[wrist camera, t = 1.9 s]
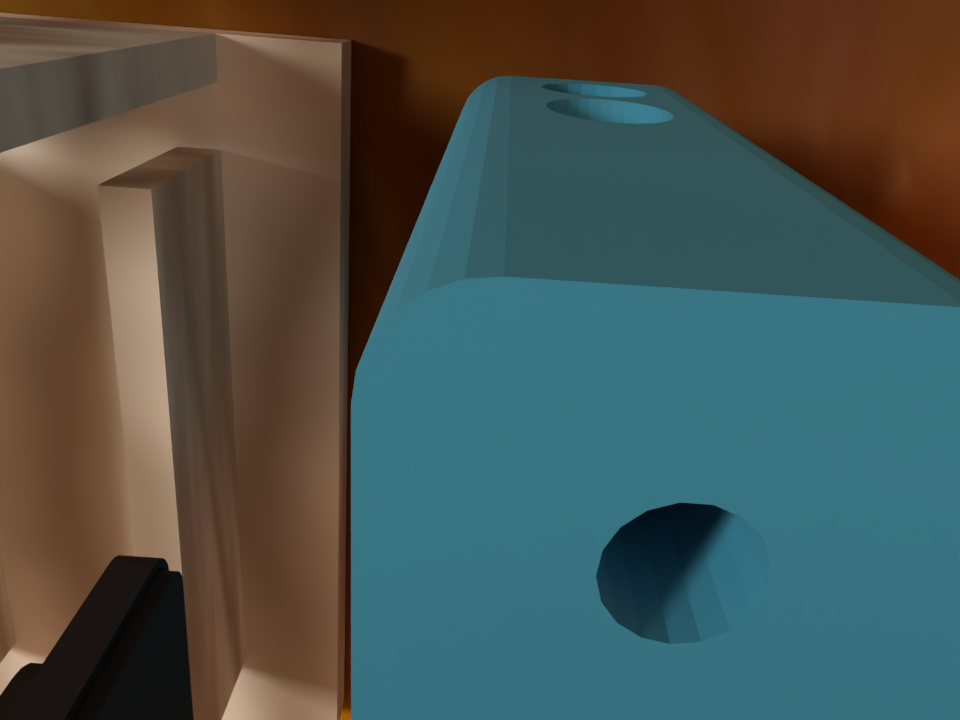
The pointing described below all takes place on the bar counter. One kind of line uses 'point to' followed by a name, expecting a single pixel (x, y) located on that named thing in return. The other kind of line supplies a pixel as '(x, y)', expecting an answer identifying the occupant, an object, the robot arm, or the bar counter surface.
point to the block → (651, 434)
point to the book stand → (178, 343)
